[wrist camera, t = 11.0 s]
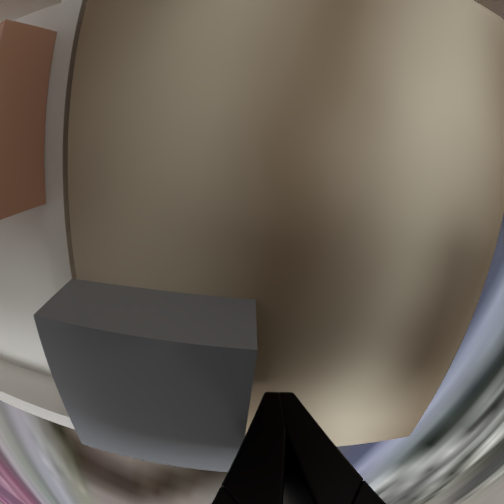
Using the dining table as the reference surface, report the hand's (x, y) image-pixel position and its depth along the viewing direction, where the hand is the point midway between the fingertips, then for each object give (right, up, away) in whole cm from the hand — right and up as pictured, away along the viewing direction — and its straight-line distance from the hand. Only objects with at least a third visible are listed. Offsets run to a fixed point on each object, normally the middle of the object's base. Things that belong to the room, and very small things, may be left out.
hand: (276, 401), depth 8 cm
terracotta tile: (-9, +8, -1) cm, 12 cm away
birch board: (+1, +5, +1) cm, 5 cm away
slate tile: (-3, +1, +1) cm, 3 cm away
